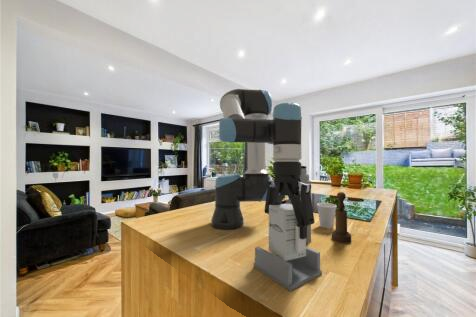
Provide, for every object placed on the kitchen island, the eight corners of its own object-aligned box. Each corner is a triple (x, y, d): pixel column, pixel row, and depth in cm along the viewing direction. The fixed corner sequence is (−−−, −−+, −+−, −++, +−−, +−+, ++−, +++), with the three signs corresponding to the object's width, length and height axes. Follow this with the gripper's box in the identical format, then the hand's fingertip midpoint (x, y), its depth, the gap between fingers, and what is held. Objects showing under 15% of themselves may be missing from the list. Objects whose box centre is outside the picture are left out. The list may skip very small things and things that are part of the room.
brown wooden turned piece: (329, 239, 76) (329, 192, 77) (334, 235, 81) (334, 190, 81) (348, 244, 72) (348, 194, 72) (353, 239, 77) (353, 192, 77)
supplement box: (267, 250, 56) (267, 204, 57) (289, 246, 59) (289, 202, 60) (283, 262, 49) (283, 210, 50) (307, 256, 52) (307, 207, 53)
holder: (253, 266, 56) (253, 246, 56) (284, 255, 63) (284, 237, 63) (290, 291, 46) (290, 266, 46) (321, 274, 53) (321, 252, 53)
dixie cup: (316, 222, 97) (316, 202, 97) (335, 224, 94) (335, 203, 95) (317, 228, 89) (317, 205, 90) (337, 230, 87) (337, 207, 87)
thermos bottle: (309, 236, 79) (309, 165, 80) (312, 244, 72) (312, 166, 72) (288, 234, 81) (288, 165, 82) (289, 242, 73) (289, 165, 74)
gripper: (252, 161, 61) (252, 236, 61) (311, 160, 44) (312, 264, 44) (270, 161, 66) (270, 231, 65) (330, 160, 49) (331, 255, 48)
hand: (286, 244), depth 54 cm, fingers closed on supplement box, 8 cm apart
